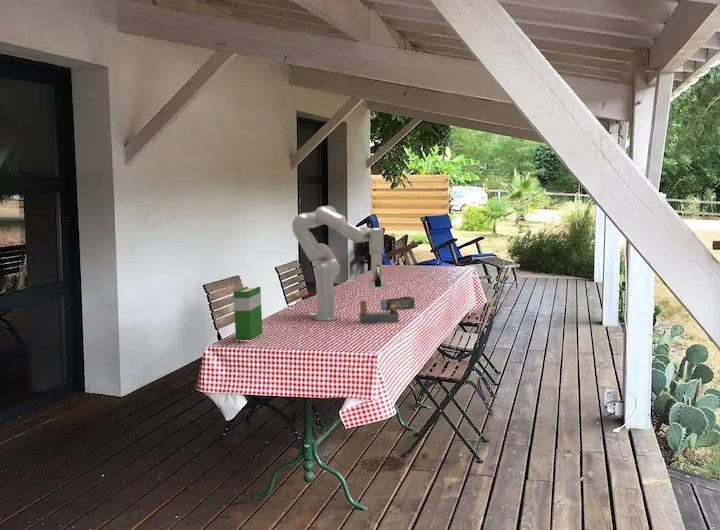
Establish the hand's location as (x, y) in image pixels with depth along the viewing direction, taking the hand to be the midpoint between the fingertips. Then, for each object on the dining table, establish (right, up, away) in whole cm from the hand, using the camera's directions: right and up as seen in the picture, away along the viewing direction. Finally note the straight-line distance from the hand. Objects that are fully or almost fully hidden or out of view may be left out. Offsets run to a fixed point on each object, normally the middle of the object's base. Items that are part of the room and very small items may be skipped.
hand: (377, 285), depth 376 cm
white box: (0, -1, 0) cm, 1 cm away
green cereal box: (-62, -25, -31) cm, 74 cm away
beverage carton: (+13, -15, +42) cm, 46 cm away
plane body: (+1, -19, +2) cm, 19 cm away
